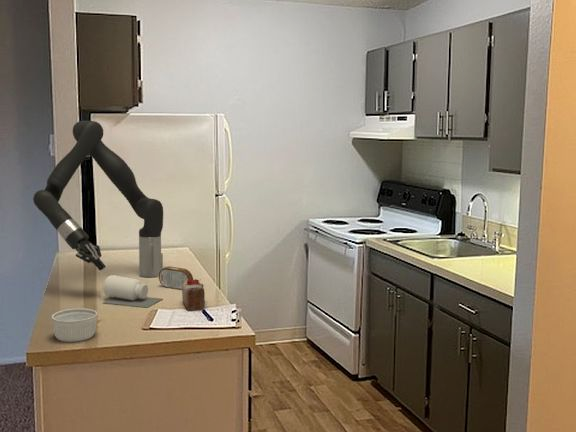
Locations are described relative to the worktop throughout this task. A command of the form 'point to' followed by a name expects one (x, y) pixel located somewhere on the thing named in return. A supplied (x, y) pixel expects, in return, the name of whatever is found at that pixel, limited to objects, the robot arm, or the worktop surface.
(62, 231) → the robot arm
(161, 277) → the tin
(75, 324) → the ramekin
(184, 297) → the food item
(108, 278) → the pill bottle
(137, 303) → the mat
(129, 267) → the worktop surface
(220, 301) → the worktop surface
